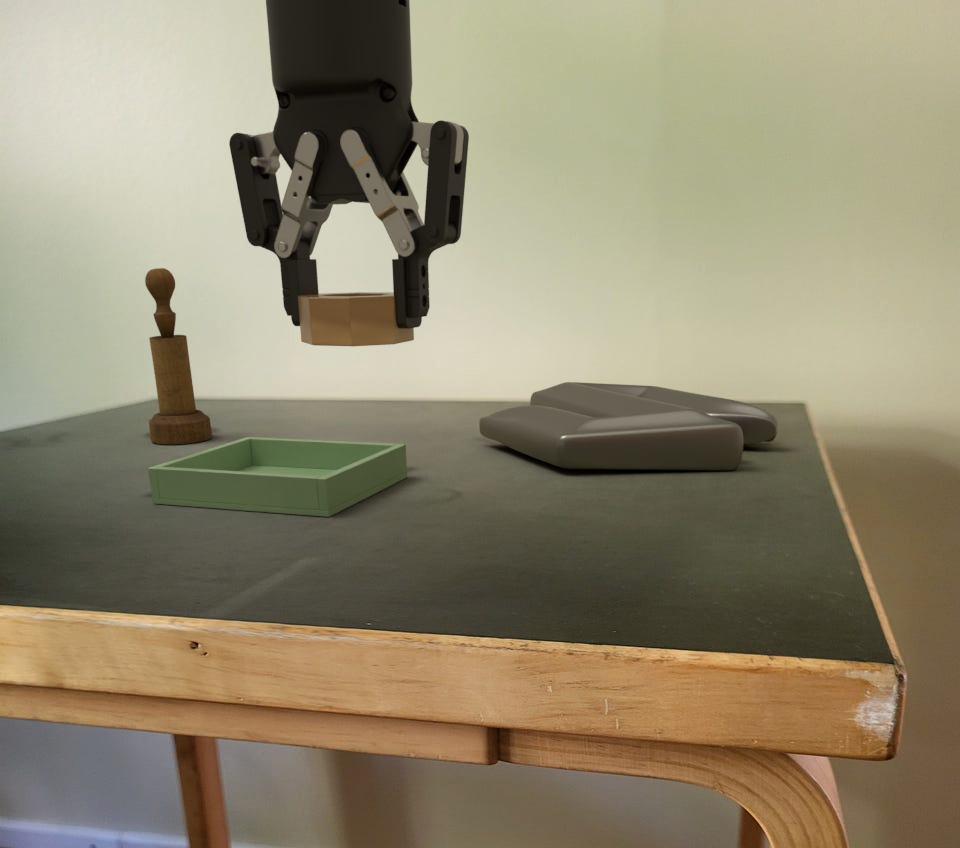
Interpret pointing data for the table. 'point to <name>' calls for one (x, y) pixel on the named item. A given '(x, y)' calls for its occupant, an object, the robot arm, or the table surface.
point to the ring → (350, 319)
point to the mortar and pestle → (172, 373)
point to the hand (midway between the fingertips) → (357, 325)
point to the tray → (280, 475)
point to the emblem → (630, 428)
